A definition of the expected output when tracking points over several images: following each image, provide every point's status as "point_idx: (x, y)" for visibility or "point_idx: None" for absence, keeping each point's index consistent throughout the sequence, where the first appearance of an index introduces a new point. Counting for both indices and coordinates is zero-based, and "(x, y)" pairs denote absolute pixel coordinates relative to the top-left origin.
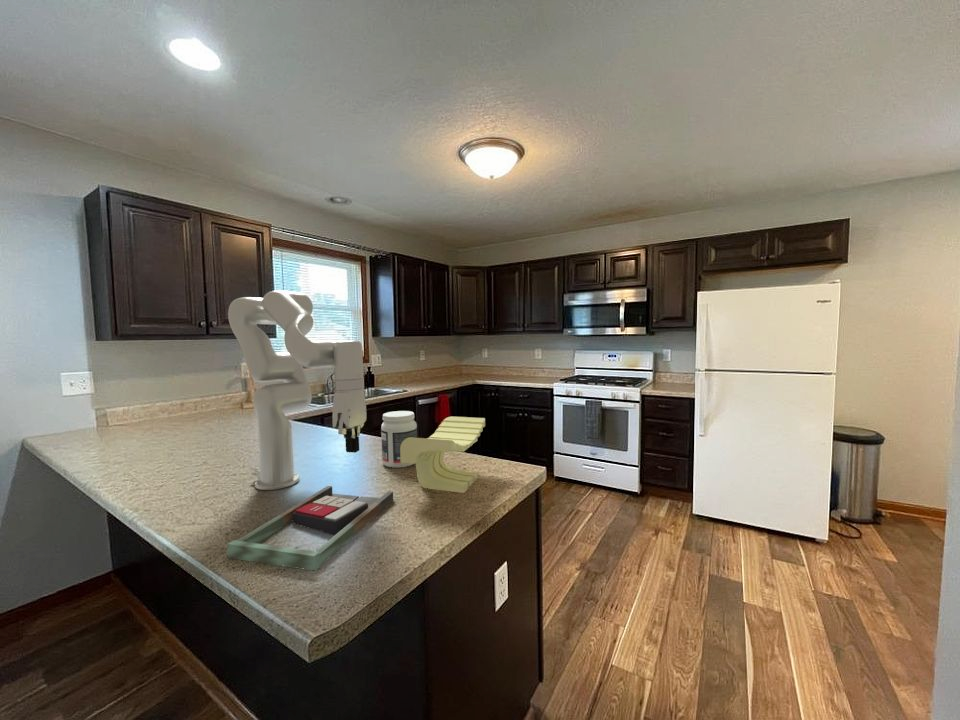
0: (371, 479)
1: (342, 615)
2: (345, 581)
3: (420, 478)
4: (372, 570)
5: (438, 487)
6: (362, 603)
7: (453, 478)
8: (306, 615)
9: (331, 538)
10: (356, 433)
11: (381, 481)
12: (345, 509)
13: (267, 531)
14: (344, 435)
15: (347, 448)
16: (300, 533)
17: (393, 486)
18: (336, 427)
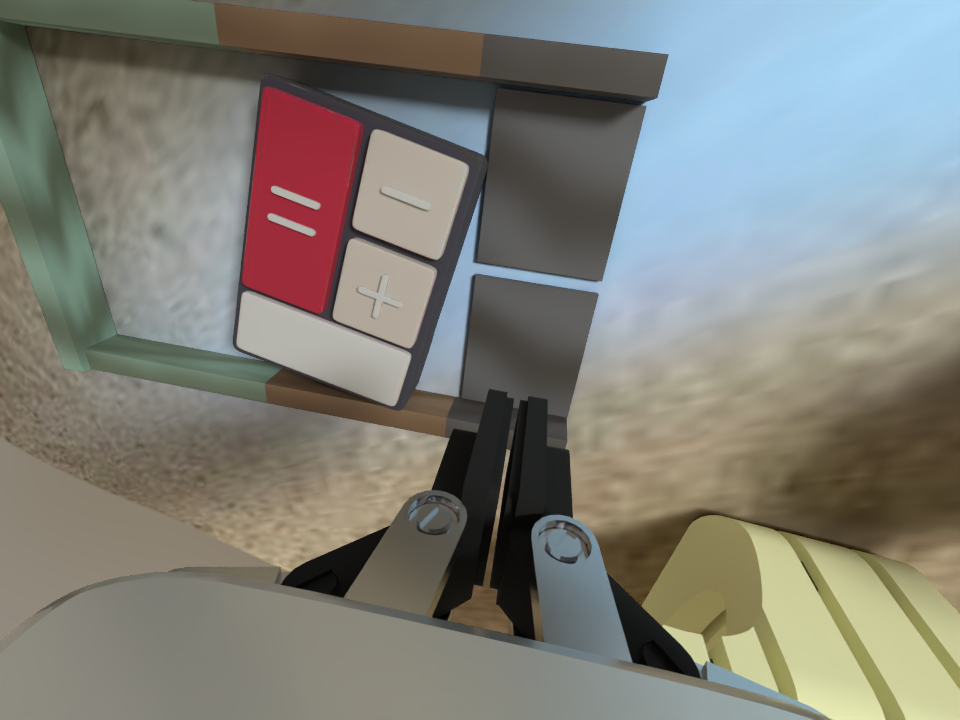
0: (897, 252)
1: (45, 455)
2: (114, 430)
3: (731, 534)
4: (170, 469)
5: (675, 569)
6: (85, 477)
7: (722, 629)
8: (6, 397)
9: (166, 366)
10: (513, 633)
11: (836, 324)
12: (320, 349)
13: (138, 37)
14: (351, 548)
15: (452, 435)
16: (232, 183)
17: (736, 402)
18: (199, 592)
